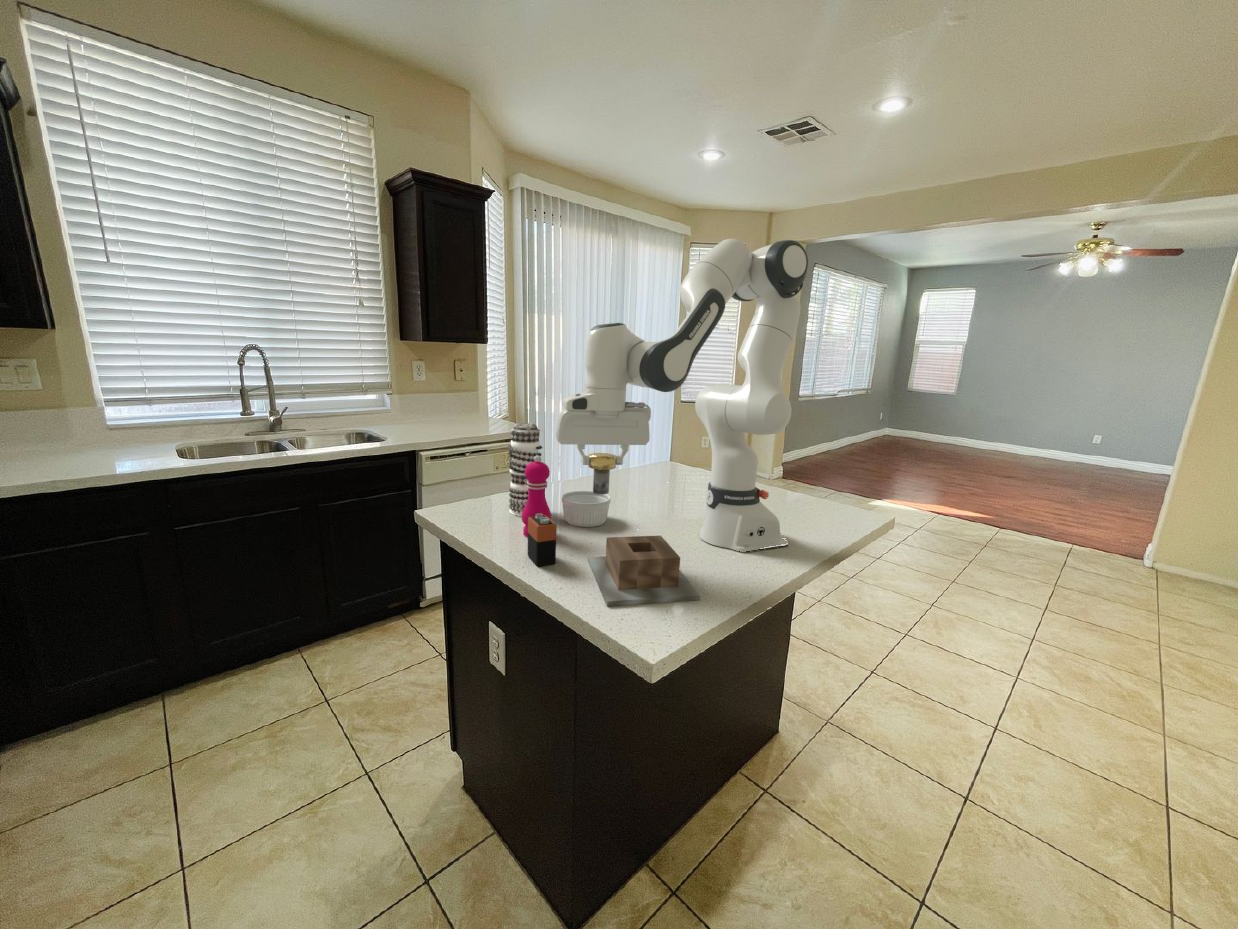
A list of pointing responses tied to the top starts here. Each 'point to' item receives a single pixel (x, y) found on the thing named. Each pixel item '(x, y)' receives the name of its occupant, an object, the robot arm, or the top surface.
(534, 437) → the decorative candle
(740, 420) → the robot arm
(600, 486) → the gold grey cylinder
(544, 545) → the battery
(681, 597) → the board
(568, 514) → the ramekin
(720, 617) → the top surface
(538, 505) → the pepper mill
